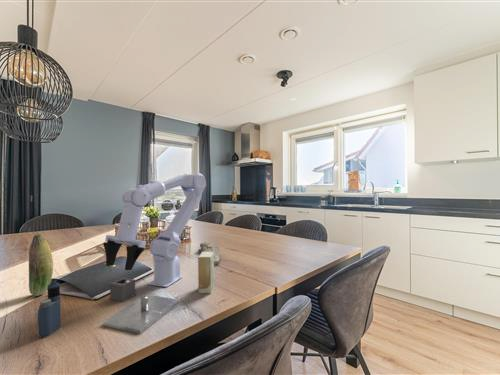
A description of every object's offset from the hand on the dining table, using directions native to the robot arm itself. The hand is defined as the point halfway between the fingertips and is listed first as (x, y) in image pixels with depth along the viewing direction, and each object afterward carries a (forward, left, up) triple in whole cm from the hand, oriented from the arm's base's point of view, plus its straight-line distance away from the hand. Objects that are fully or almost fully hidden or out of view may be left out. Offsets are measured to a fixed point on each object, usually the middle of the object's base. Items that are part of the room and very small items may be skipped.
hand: (118, 267), depth 76 cm
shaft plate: (+4, +14, -10) cm, 17 cm away
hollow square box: (-2, 0, -10) cm, 10 cm away
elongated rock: (-52, +5, -11) cm, 53 cm away
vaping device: (+18, -2, -10) cm, 21 cm away
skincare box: (-15, +23, -10) cm, 29 cm away
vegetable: (+5, -27, -10) cm, 30 cm away
